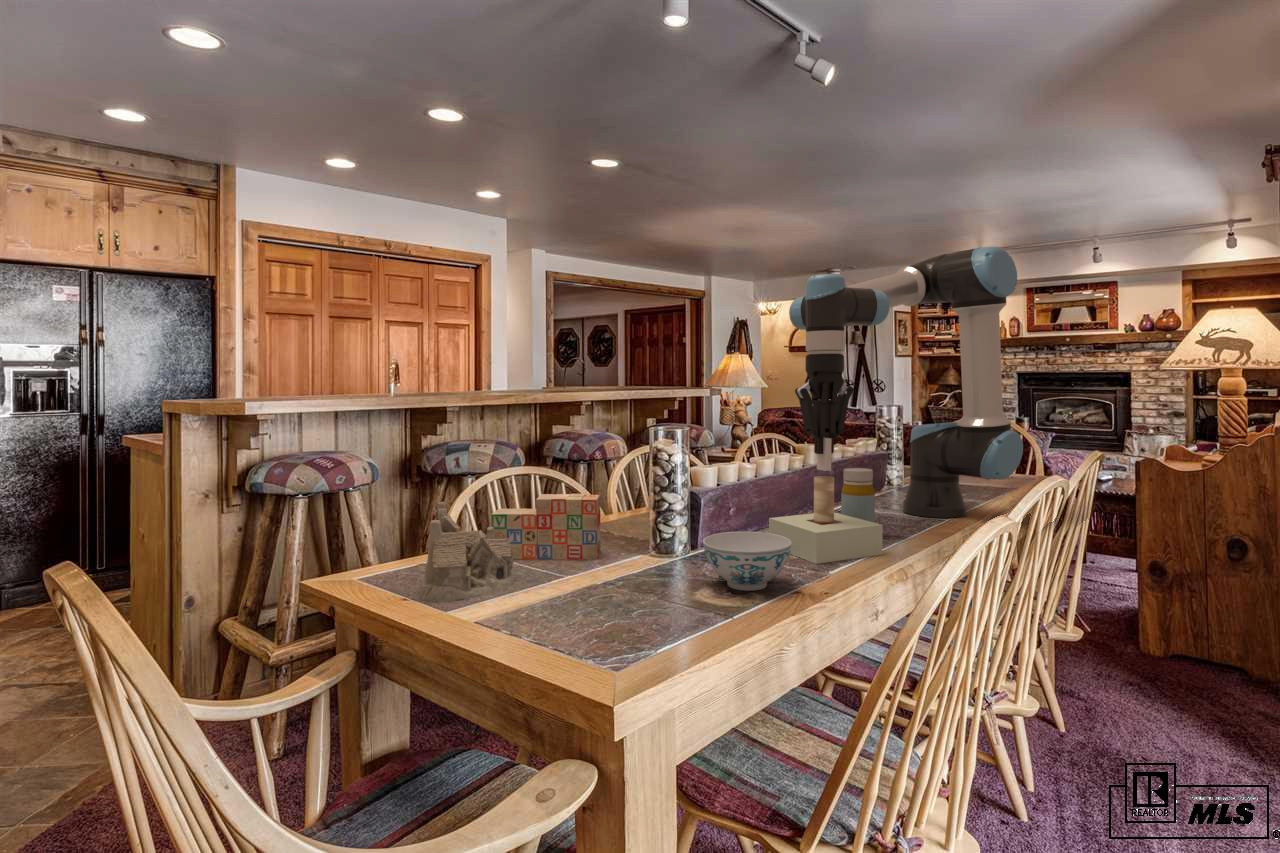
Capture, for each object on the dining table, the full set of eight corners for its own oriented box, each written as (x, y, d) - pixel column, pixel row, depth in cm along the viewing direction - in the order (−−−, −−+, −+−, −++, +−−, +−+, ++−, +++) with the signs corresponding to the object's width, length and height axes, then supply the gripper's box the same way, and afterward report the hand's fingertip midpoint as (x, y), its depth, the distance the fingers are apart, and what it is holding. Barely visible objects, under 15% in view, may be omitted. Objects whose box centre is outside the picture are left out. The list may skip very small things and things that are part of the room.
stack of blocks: (491, 559, 144) (490, 499, 143) (499, 552, 150) (497, 493, 149) (598, 559, 143) (596, 498, 142) (601, 552, 149) (600, 493, 148)
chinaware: (803, 579, 126) (803, 536, 126) (773, 603, 113) (773, 555, 113) (724, 569, 134) (724, 528, 133) (688, 590, 121) (687, 545, 120)
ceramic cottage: (408, 601, 116) (412, 509, 116) (434, 577, 133) (437, 496, 132) (504, 605, 117) (508, 514, 117) (518, 581, 133) (522, 500, 133)
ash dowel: (825, 542, 150) (825, 475, 149) (838, 546, 146) (838, 478, 145) (809, 544, 148) (809, 477, 147) (821, 548, 144) (822, 479, 143)
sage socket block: (830, 538, 158) (831, 511, 157) (882, 554, 143) (882, 524, 142) (769, 546, 151) (769, 518, 151) (816, 563, 137) (816, 532, 136)
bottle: (834, 535, 160) (834, 468, 159) (858, 532, 163) (859, 466, 162) (856, 542, 154) (856, 472, 153) (881, 538, 157) (881, 470, 156)
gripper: (838, 354, 150) (837, 466, 152) (786, 353, 145) (786, 469, 147) (863, 352, 143) (862, 470, 145) (809, 352, 138) (808, 474, 140)
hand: (823, 469), depth 146 cm, fingers closed
